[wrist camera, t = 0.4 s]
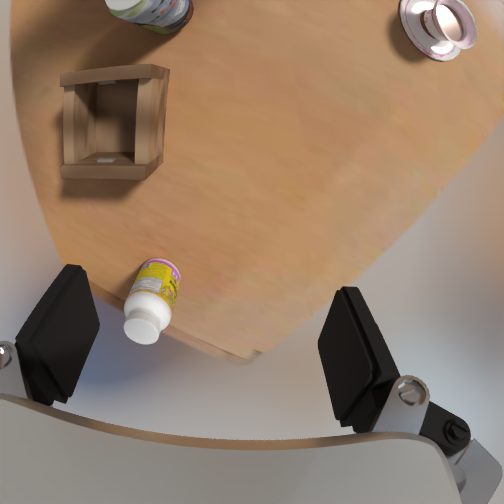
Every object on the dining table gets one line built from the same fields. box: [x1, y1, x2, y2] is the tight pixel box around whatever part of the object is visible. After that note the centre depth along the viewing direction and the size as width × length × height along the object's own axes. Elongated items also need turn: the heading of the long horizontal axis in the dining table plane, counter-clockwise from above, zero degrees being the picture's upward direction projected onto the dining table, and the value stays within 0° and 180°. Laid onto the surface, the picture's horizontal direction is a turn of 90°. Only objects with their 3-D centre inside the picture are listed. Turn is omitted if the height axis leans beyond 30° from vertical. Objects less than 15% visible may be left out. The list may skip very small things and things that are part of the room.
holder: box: [60, 64, 170, 180], centre depth 28 cm, size 12×11×8 cm
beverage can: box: [105, 0, 193, 34], centre depth 20 cm, size 6×7×12 cm
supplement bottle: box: [124, 258, 180, 344], centre depth 39 cm, size 7×7×13 cm
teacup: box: [400, 0, 477, 61], centre depth 22 cm, size 12×12×6 cm
